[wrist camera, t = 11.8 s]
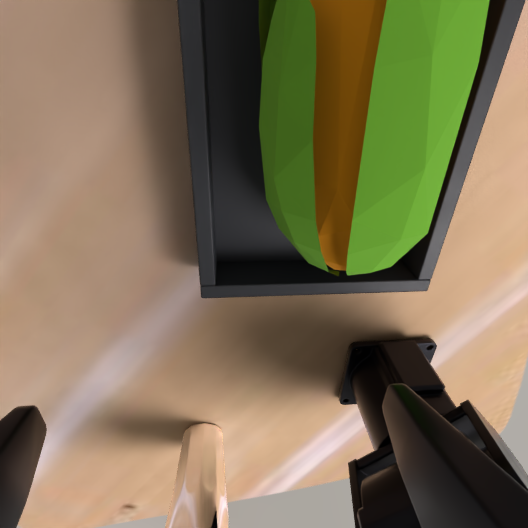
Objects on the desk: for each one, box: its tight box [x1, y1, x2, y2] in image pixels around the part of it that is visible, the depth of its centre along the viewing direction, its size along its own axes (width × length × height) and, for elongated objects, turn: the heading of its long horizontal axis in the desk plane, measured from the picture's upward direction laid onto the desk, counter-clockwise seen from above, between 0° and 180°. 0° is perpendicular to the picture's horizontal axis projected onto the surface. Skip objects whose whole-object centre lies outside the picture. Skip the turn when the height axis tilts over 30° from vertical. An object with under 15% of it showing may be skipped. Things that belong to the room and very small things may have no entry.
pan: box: [177, 0, 525, 298], centre depth 14 cm, size 25×13×3 cm, turn 178°
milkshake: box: [165, 423, 230, 528], centre depth 25 cm, size 4×5×10 cm
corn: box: [259, 0, 490, 276], centre depth 11 cm, size 7×8×20 cm
